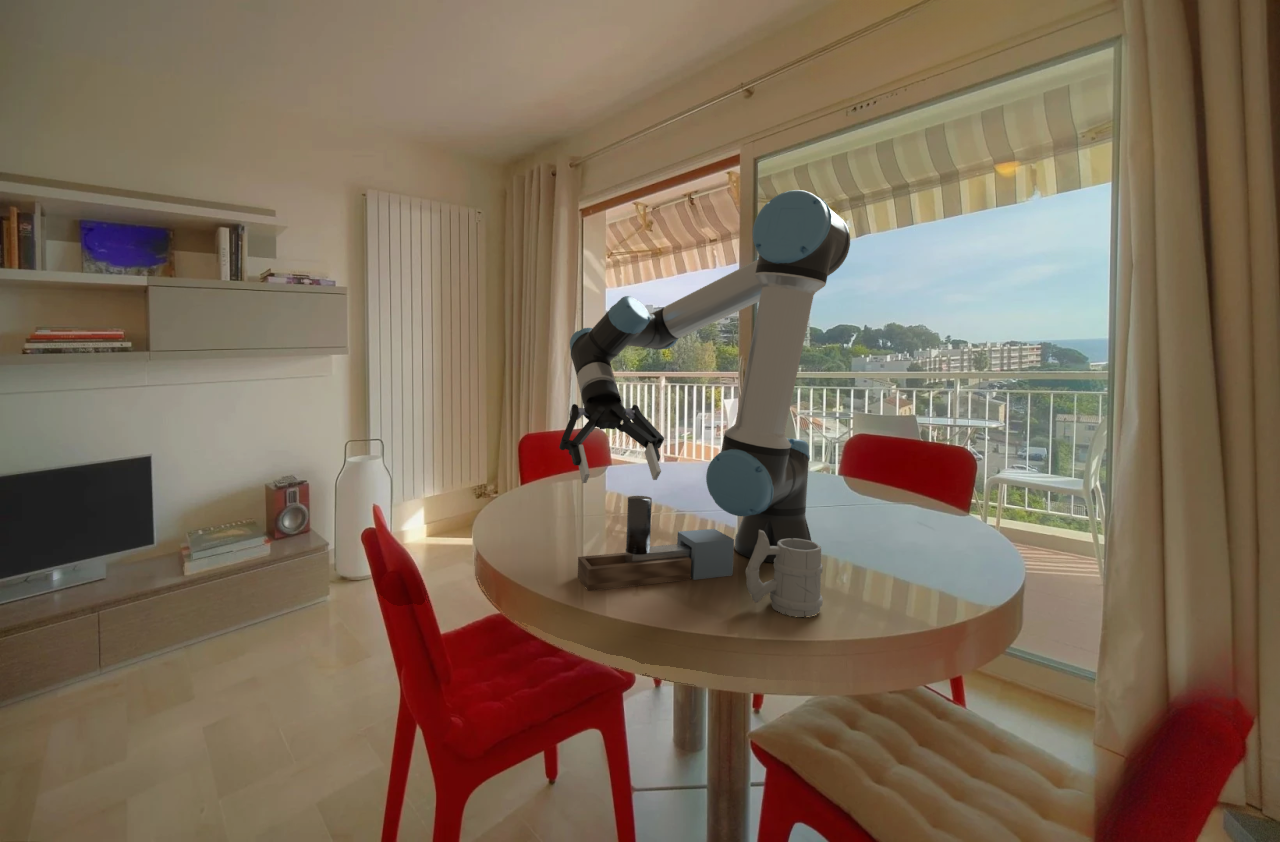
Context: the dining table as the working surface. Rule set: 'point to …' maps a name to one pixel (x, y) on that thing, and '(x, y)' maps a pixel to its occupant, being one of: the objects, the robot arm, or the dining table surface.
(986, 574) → the dining table surface
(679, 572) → the walnut channel
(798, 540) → the mug
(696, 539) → the socket block
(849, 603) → the dining table surface
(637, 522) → the l-shaped peg bar
